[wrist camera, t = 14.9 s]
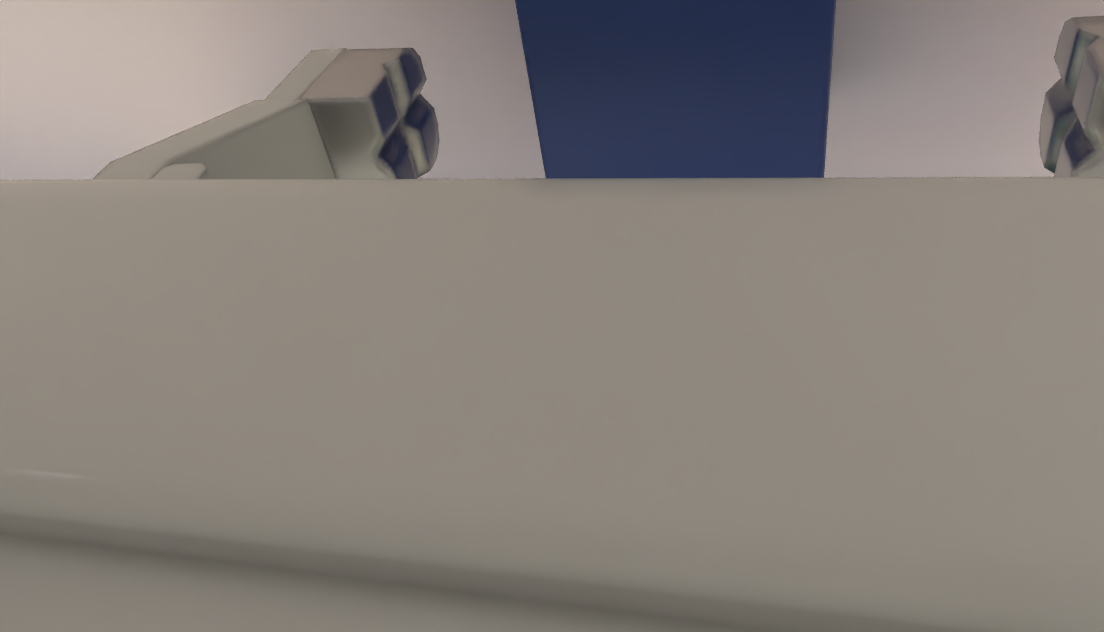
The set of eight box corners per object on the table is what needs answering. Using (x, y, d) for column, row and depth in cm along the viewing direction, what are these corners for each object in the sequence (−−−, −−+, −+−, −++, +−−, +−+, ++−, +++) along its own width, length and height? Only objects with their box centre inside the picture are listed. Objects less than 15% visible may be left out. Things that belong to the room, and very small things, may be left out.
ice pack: (601, 106, 17) (555, 245, 14) (562, -224, 14) (488, -136, 10) (816, 101, 16) (819, 249, 13) (837, -257, 13) (848, -171, 9)
